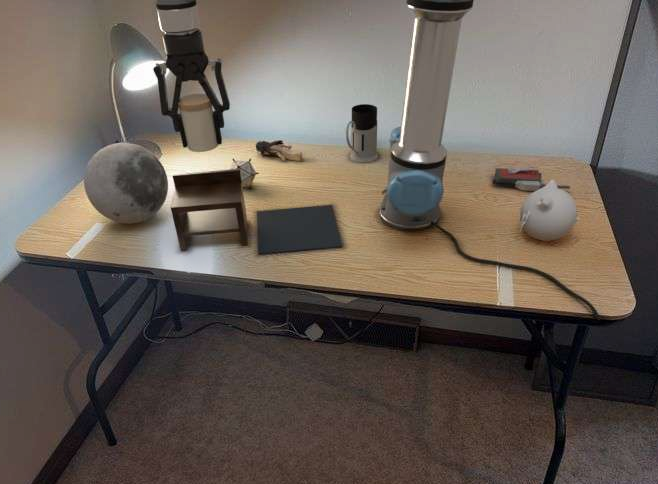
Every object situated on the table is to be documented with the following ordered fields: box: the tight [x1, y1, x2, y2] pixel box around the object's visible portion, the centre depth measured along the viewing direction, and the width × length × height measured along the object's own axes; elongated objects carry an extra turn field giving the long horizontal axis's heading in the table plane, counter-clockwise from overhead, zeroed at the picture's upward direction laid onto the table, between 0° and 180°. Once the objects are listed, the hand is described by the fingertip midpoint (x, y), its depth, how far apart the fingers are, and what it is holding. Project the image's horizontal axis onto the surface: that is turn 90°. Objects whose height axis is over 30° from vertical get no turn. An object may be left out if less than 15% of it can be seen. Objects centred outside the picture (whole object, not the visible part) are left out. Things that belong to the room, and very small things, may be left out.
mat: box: [256, 204, 343, 256], centre depth 135 cm, size 20×20×1 cm
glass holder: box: [345, 103, 379, 164], centre depth 161 cm, size 9×14×15 cm, turn 146°
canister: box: [178, 93, 219, 153], centre depth 115 cm, size 7×7×10 cm
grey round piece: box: [519, 179, 581, 242], centre depth 124 cm, size 15×13×12 cm
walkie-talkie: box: [491, 166, 571, 192], centre depth 147 cm, size 9×4×20 cm
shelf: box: [170, 168, 249, 253], centre depth 129 cm, size 16×11×15 cm
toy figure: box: [255, 139, 303, 162], centre depth 167 cm, size 7×6×15 cm
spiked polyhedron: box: [229, 158, 260, 190], centre depth 152 cm, size 9×8×10 cm
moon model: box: [83, 142, 169, 224], centre depth 136 cm, size 20×20×20 cm
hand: (202, 143), depth 118 cm, fingers closed on canister, 7 cm apart
